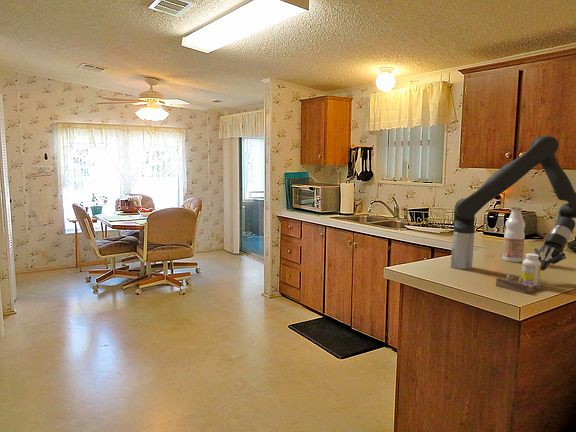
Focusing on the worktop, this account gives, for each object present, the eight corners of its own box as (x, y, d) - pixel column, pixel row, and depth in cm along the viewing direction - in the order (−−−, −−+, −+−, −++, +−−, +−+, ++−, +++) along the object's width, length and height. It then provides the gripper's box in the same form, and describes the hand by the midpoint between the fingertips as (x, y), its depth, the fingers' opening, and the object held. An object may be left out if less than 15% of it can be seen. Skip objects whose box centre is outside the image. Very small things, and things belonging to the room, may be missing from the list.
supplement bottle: (532, 282, 177) (535, 252, 175) (542, 287, 170) (545, 256, 169) (517, 282, 177) (519, 252, 175) (526, 287, 170) (529, 256, 169)
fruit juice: (498, 259, 221) (502, 207, 217) (508, 257, 226) (512, 206, 223) (516, 263, 213) (521, 208, 210) (526, 261, 218) (530, 207, 215)
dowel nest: (512, 281, 177) (513, 270, 177) (541, 289, 167) (542, 276, 167) (495, 285, 171) (496, 273, 170) (525, 293, 161) (526, 280, 160)
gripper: (539, 230, 186) (522, 260, 181) (572, 234, 175) (555, 267, 170) (544, 241, 189) (528, 271, 184) (577, 246, 178) (560, 278, 173)
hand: (541, 269), depth 177 cm, fingers closed
